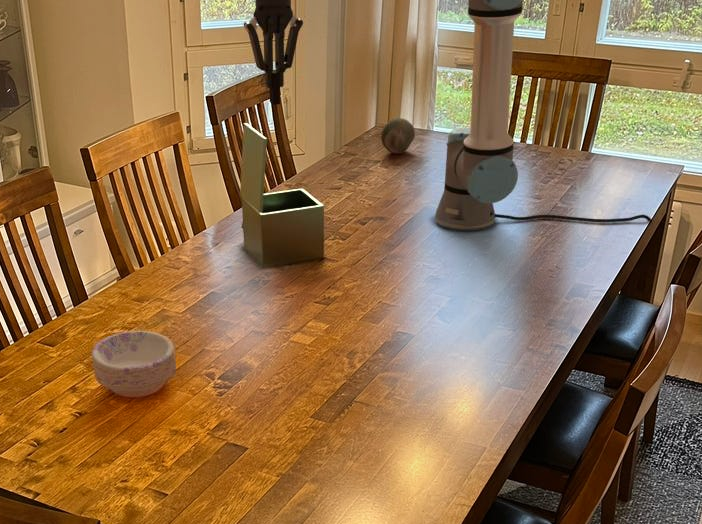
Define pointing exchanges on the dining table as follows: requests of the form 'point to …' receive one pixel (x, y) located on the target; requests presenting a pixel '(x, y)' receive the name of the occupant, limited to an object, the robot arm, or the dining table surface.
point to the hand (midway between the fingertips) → (274, 102)
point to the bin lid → (253, 167)
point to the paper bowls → (134, 362)
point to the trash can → (284, 228)
